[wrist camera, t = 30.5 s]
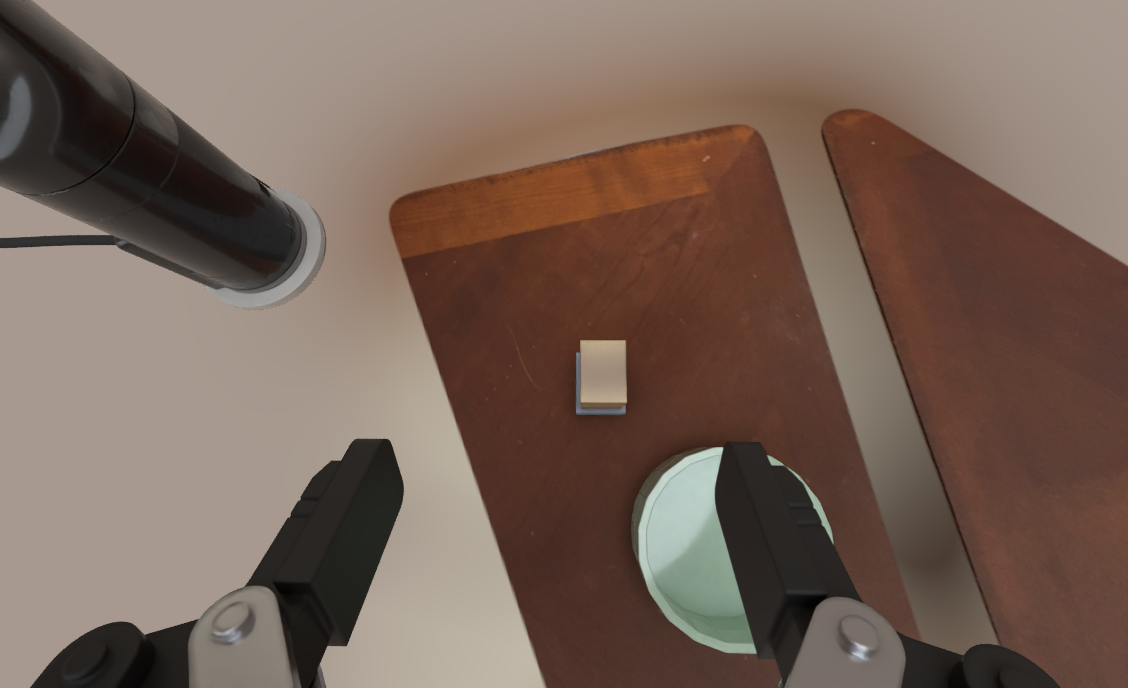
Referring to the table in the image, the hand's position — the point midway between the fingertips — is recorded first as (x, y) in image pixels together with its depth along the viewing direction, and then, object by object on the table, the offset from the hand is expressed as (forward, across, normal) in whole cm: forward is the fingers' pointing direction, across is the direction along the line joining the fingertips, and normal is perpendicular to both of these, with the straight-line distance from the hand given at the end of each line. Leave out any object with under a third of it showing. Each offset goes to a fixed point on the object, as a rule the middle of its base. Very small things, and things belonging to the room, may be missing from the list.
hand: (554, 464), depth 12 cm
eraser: (+24, -2, +16) cm, 29 cm away
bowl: (+16, -11, +25) cm, 31 cm away
